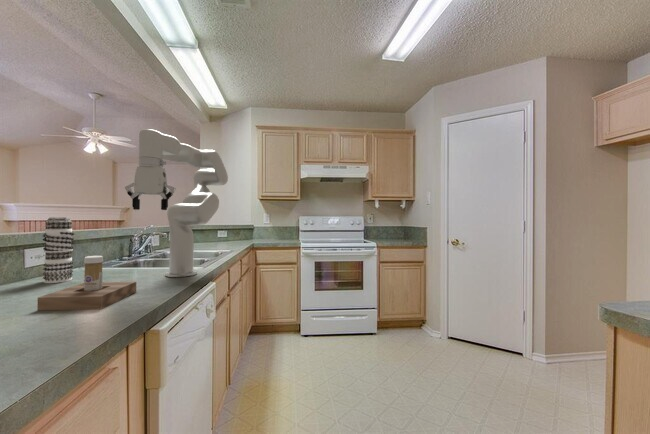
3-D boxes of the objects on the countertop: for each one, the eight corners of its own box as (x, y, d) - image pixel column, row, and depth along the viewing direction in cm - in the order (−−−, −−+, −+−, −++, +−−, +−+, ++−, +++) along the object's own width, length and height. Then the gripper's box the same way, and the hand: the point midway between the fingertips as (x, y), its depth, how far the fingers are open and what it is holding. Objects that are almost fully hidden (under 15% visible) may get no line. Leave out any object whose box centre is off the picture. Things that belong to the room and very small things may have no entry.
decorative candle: (74, 277, 119) (75, 217, 119) (73, 281, 112) (74, 217, 112) (43, 280, 113) (44, 217, 113) (40, 284, 106) (41, 217, 106)
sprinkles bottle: (80, 302, 84) (81, 257, 84) (88, 298, 89) (88, 255, 89) (98, 301, 86) (99, 257, 86) (105, 297, 90) (105, 255, 90)
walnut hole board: (85, 292, 95) (85, 282, 95) (136, 291, 97) (136, 281, 97) (37, 310, 77) (37, 297, 77) (101, 308, 79) (101, 296, 79)
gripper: (179, 166, 111) (178, 210, 111) (131, 165, 109) (131, 209, 109) (171, 162, 103) (170, 209, 103) (119, 161, 101) (119, 209, 101)
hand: (150, 209), depth 106 cm, fingers open, 9 cm apart
